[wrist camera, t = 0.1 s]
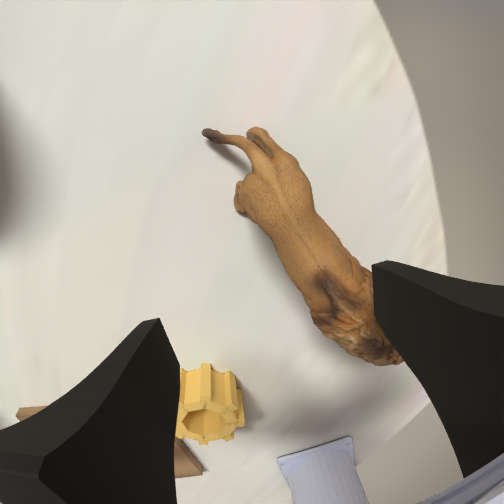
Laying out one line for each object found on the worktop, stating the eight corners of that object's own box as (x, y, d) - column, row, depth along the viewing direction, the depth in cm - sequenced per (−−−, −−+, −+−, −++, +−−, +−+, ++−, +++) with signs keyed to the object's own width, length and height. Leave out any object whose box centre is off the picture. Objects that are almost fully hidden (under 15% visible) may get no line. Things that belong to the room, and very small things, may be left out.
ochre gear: (247, 404, 25) (252, 436, 22) (185, 417, 25) (184, 448, 22) (226, 356, 23) (229, 389, 20) (158, 373, 23) (152, 405, 20)
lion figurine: (383, 264, 22) (458, 332, 13) (328, 315, 23) (379, 403, 14) (234, 100, 17) (251, 68, 9) (169, 166, 18) (129, 191, 10)
